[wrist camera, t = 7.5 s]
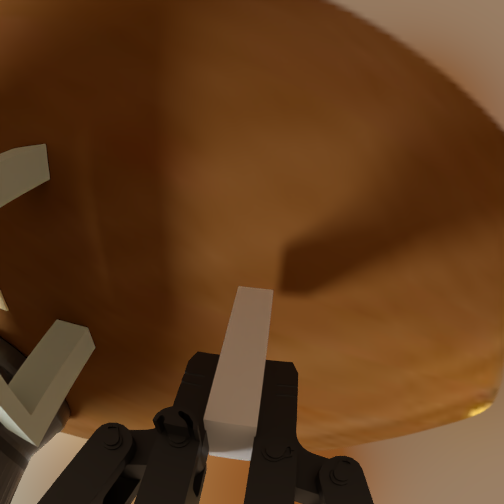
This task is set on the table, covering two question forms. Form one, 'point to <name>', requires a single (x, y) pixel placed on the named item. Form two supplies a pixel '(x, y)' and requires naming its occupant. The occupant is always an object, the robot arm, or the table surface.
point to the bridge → (57, 337)
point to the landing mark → (3, 303)
